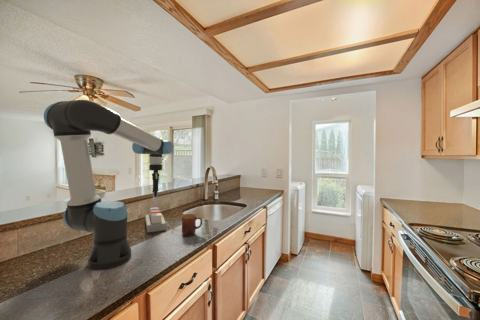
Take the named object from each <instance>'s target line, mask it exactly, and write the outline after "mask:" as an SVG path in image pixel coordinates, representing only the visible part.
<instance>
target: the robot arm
mask: <svg viewBox="0 0 480 320" xmlns="http://www.w3.org/2000/svg"><path fill="white" fill-rule="evenodd" d="M43 120H44V123H45V124H46V126H47V127H48V128H50V129H51V130H52V132H53V136H54V138H55V139H57V140H58V141H59V142H60V147H61V151H62V157H63V162H64V163H63V164H64V170H65V174H66V179H67V185H68V192H69V196H70V199H69V200H68V201H66V206H67V207H66V208H65V210H64V211H63V213H62V214H63V215H62V221H63V223H64V225H65V226H66V227H68V228H70V229H72V230H74V231H77V232H86V233H92V235H93V238H92V239H93V241H92V242H93V244H92V247H91V250H90V252H89V254H88V257H87V267H88V268H89V269H91V270H96V271H97V270H106V269H112V268H116V267H118V266H121V265H123V264H125V263H127V262H128V261H129V260H131V258H132V249H131V246H130V243H129V241H128V214H129V213H128V207H127V204H125V202H122V201H117V200H105V201H102V197H101V195H98V194H97V192H96V187H95V186H96V185H95V179H94V174H93V167H92V160H91V154H90V147H89V143H88V139H89V138H90V137H91V135H92V132H91V131H93V132H101V133H104V134H106V135H114V136H117V137H120V138H122V139H125V140H127V141H129V142H131V143H132V145H131V148H132V151H133V153H134V154H137V155H148V156H149V159H148V160H149V161H148V164H149V165H148V170H149V171H152V172H153V173H151V176H152V177H151V178H152V179H151V180H152V190H151V192H152V203H157V202H159V200H158V197H159V196H158V195H159V191H160V190H159V180H160V173H159V171H162V170H163V161H164V158H163V155H171V154H172V153H173V151H174V144H173V142H172V141H170V140H163V139H161V138H160V137H157V136H156V135H153V134H151V133H150V132H148V131H146V130H144V129H142V128H140V126H136V125H135V124H133V123H132V122H129V121H128V120H126V119H123V118H122V116H121V115H120V114H119V113H118V112H116V111H114V110H112V109H110V108H108V107H107V106H104V105H102V104H100V103H97V102H95V101H92V100H88V99H74V100H64V101H57V102H54V103H52V104H50V105H48V106H47V107H46V108H45V110H44V113H43Z"/></svg>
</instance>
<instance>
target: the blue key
mask: <svg viewBox="0 0 480 320" xmlns="http://www.w3.org/2000/svg"><path fill="white" fill-rule="evenodd" d="M151 210H160V208H159V207H158V206H156V207H155V206H154V207H149V215H150V217H151Z"/></svg>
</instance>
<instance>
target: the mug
mask: <svg viewBox="0 0 480 320" xmlns="http://www.w3.org/2000/svg"><path fill="white" fill-rule="evenodd" d="M180 219H181V234H182V236H184V237H191V236H194V235H195V234H196V230H198V229H200V228H201V227H202V225H203V218H202V217H199V216H198V215H197V214H195V213H185V214H181V215H180ZM197 220H200V223H199V225H197V226H196V221H197Z"/></svg>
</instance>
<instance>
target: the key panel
mask: <svg viewBox="0 0 480 320" xmlns="http://www.w3.org/2000/svg"><path fill="white" fill-rule="evenodd" d="M160 213H161V212H160ZM145 226H146V233H154V232H160V231H167V222H166V219H165V218H164V215H163V213H161V223H156V224H152V222H151V217H150V214H146V215H145Z"/></svg>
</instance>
